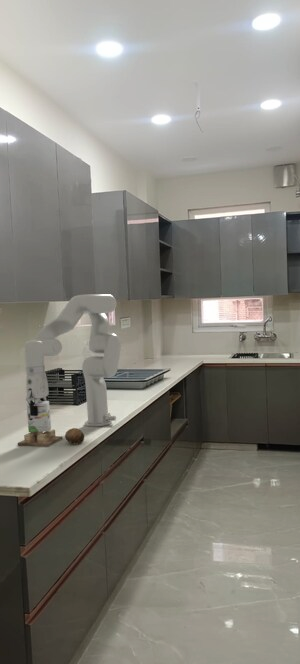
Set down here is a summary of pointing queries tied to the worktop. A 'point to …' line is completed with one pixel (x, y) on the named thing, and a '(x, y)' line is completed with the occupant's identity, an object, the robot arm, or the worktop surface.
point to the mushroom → (74, 436)
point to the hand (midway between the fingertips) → (38, 413)
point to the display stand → (40, 439)
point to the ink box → (39, 417)
